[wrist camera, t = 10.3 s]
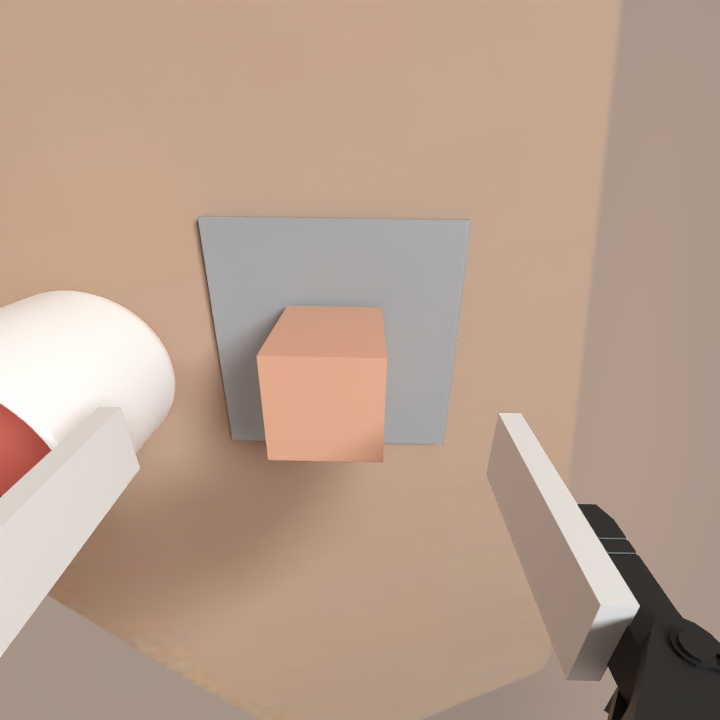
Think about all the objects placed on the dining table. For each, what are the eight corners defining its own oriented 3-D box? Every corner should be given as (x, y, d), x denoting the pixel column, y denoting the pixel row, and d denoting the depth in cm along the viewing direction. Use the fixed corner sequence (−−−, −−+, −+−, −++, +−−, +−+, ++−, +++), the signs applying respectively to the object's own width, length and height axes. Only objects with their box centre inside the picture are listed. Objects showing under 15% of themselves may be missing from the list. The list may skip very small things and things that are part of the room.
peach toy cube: (287, 305, 22) (256, 355, 16) (382, 307, 22) (387, 357, 16) (293, 388, 24) (267, 460, 18) (379, 390, 24) (382, 462, 18)
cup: (185, 305, 23) (66, 391, 14) (181, 442, 27) (88, 576, 18) (5, 267, 22) (-245, 331, 13) (30, 414, 26) (-147, 539, 17)
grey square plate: (201, 216, 21) (127, 234, 14) (469, 219, 21) (513, 239, 14) (234, 435, 27) (193, 516, 20) (442, 439, 27) (465, 523, 20)
